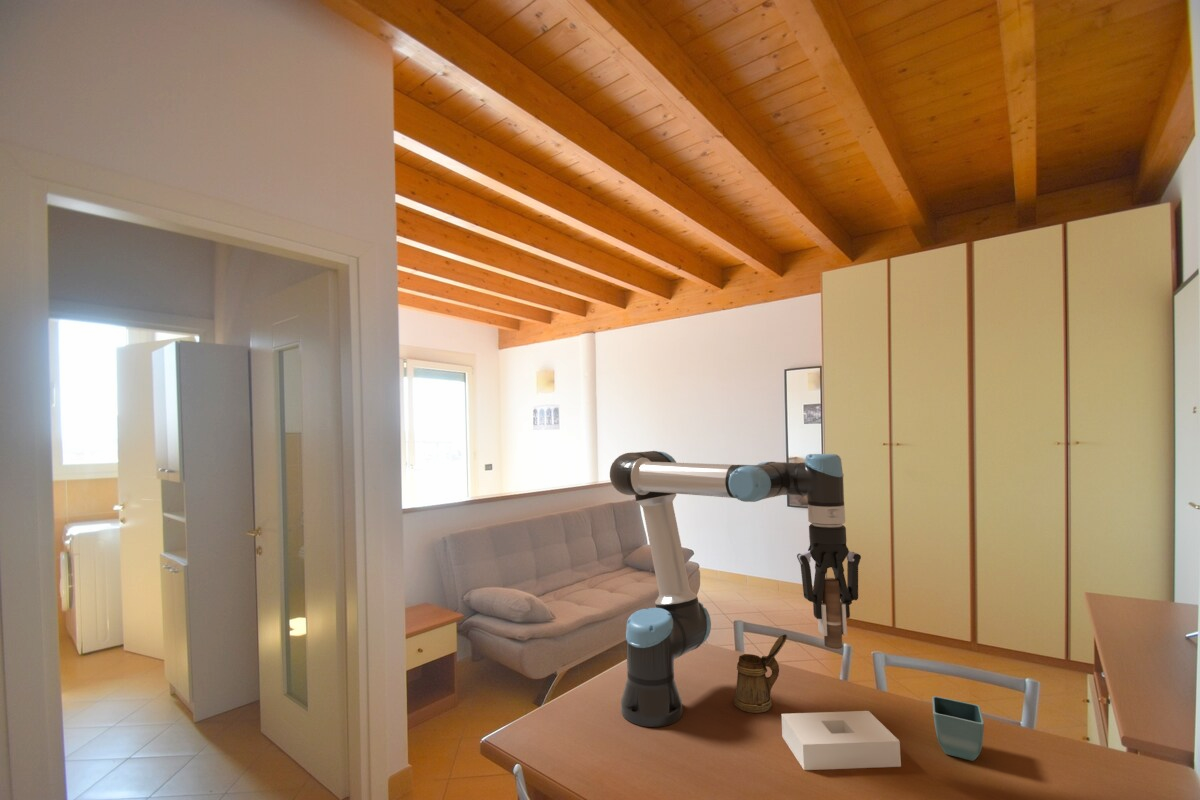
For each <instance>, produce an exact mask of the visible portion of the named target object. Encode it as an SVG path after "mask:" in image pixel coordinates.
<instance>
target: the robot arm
mask: <svg viewBox="0 0 1200 800" xmlns="http://www.w3.org/2000/svg"><path fill="white" fill-rule="evenodd" d="M804 460H805V461H804V462H785V461H782V462H779V461H777V462H776V461H766V462H765V461H764V462H763V461H761V462H759V463H758V464H725V463H723V464H722V463H720V464H719V463H699V462H698V463H696V462H693V463H692V462H677V460H675V458H674V457H673V456H672V455H670V454H668V453H667V452H664V451H658V450H649V451H639V452H638V451H637V452H626V453H623V454H621V455H619V456H618V457H617V458H615V460H613V462H612V463H611V465H610V470H609V478H610V479H609V480H610V482H611V484H612V486H613V487H614V489H615V490H616V491H617V492H619V493H621V494H622V495H625V496H626V495H627V496H634V497H635V498H634V499H635V503H637V504H638V505H639V506H641V508H642V511H643V517H644V523H645V527H646V532H647V538H648V543H649V548H650V553H651V557H652V564H653V569H654V573H655V579H656V584H657V589H658V596H657V599H655V601H654V603H655V607H648V608H642V609H639V610H636V611H634V612H633V613H631V615H630V616H629V617H628V619H627V621H626V630H625V641H626V644H625V645H626V667H627V669H626V670H627V672H626V673H627V674H626V675H627V679H626V682H625V687H624V689H623V693H622V697H621V701H620V708H621V709H620V710H621V715H622V716H623V717H624V719H625V720H627V721H628V722H630V723H632V724H635V725H637V726H641V727H648V728H660V727H664V726H665V727H666V726H668V725H672V724H674V723H676V722H678V721H679V720H680V719H681V717H682V716H683V702H682V697H681V695H680V692H679V689H678V685H677V684H676V683H677V682H676V680H675V665H674V664H675V663H674V662H675V661H674V660H676V659H678V658H680V657H681V656H683V655H686V654H688V653H689V652H690V651H694V650H696V649H698V648H699V647H700V646H701V645H702V644H704V643H705V642H706V641H707V639H708V638H709V637H710V633H711V629H712V622H711V621H712V620H711V615H710V613H709V611H708V609H707V607H704V604H703V603H702V602H700V601H699V597H698V595H697V593H695V592H694V591H693V590H692V589H691V587H690V582H689V577H688V573H687V567H686V562H685V558H684V552H683V548H682V543H681V542H682V541H681V536H680V533H679V528H678V522H677V517H676V513H675V506H674V500H675V498H676V496H677V495H678V494H679V495H689V496H690V495H691V496H703V497H706V496H707V497H715V498H716V497H717V498H729V499H731V498H732V499H737V500H738V501H741V502H744V503H745V502H746V503H749V502H751V503H754V502H759V501H761V500H762V501H763V500H766V499H769V498H775V497H780V496H803V497H805V496H806V497H807V517H808V522H809V523H810V524H809V525H808V535H809V536H808V537H809V546H808V549H807V551H805V552H803V553H798V554H796V557H797V560H798V562H799V565H800V572H801V581H802V582H801V583H802V590H803V591H802V592H803V593H802V594H803V598H804V599H806V600H807V601H809V602H811V603H812V606H813V607H812V608H813V616H814V618H816V620H817V624H818V625H817V627H818V629H817V631H818V633H820V635H822V636H823V637H824V636H827V619H826V605H825V604H824V603H822V599H823V591H824V583H825V578H826V574H827V573H828V569H830V568H831V569H832V571H833V575H834V578H835V579H838V580H839V588H840V607H841V625H842V636H848V627H847V626H848V625H847V624H848V623H847V619H850V617H851V614H850V613H851V612H850V610H851V609H850V605H852V603H853V602H852V601H857V600H859V564H860V562H861V559H862V555H861V554H859V553H858V552H854V551H850V550H849V547H848V546H847V527H846V526H845V525H844V524H845V523H846V509H845V495H844V494H845V491H844V490H845V489H844V471H843V463H842V458H841V456H840V455H838V454H834V453H813V454H812V453H811V454H806V455H805V459H804ZM811 558H812V560H813V561H814V563H815V564H814V569H815V571H814V572H815V573H814V580H812V578H813V577H812V571H811V565H810V563H811V561H812V560H811ZM845 559H847V566H846V567H847V568H846V569H847V575H846V577H847V580H846V577H845V569H844V568H845V567H844V564H843V563H844V562H845Z"/></svg>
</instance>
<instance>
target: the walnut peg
mask: <svg viewBox="0 0 1200 800" xmlns="http://www.w3.org/2000/svg"><path fill="white" fill-rule="evenodd" d="M840 601H841V600H840V588H839V580H838V579H835V577H825V583H824V591H823V599H822V603H824V604H825V605H826V619H827V636H823V640H824V641H823V643H824V646H825V647H827V648H830V649H832V650H834V649H835V650H840V649H842V648H843V645H844V643H843V634H842V625H841V607H840Z"/></svg>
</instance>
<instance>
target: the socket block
mask: <svg viewBox="0 0 1200 800" xmlns="http://www.w3.org/2000/svg"><path fill="white" fill-rule="evenodd" d="M780 715H781V735H782V739H783V740H784V742H785V743H786V745H787V746H788V748H789V749H790V751H791V752H792V754H793V755H794V757H795V758H796V760H797V762H798V763H799V764H800V766H801V767H802V769H803V770H804V771H814V770H815V771H816V770H817V771H820V770H822V771H823V770H843V769H844V770H845V769H850V770H851V769H867V768H868V769H870V768H871V769H873V768H900V767H902V762H901V758H902V757H901V745H900V744H901V742H900V740H899V738H897V737H896V736H895V735H894V734H893V733H892V732H891V731H890V730H889V729H888V728H887V727H886V726H885V725H884V724H883V723H882V722H881V721H879V719H878V718H877V717H876V716H875V715H873V714H872V712H870V711H869V710H857V711H855V710H852V711H851V710H850V711H825V712H822V711H821V712H795V713H781V714H780Z"/></svg>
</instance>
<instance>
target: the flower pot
mask: <svg viewBox="0 0 1200 800" xmlns="http://www.w3.org/2000/svg"><path fill="white" fill-rule="evenodd" d="M931 698H932V699H931V700H932V714H933V720H934V729H935V733H936V737H937V742H938V744H939V745H940V748H941V750H943V752H944V754H945V755H949V756H952V757H956V758H959V759H964V760H967V761H972V762H973V761H974V762H975V760H976V759H977V758H978V757H979V756H980V754H981V751H982V748H983V743H984V742H983V741H984V731H985V730H984V728H985V722H984V718H983V715H982V709H981V706H980V705H979V704H974V703H969V702H964V701H959V700H955V699H951V698H945V697H941V696H934V695H933V696H931Z"/></svg>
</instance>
